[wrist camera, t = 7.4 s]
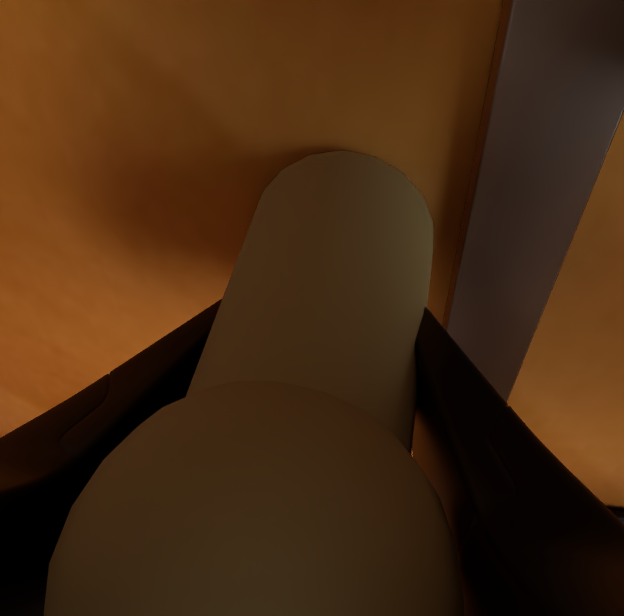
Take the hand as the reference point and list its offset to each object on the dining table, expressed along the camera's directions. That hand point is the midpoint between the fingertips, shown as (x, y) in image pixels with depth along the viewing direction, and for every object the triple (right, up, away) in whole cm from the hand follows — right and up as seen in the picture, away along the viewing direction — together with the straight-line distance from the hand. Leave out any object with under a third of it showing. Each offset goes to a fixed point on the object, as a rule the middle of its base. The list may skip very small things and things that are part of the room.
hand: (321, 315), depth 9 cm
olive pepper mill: (+1, +2, +3) cm, 4 cm away
